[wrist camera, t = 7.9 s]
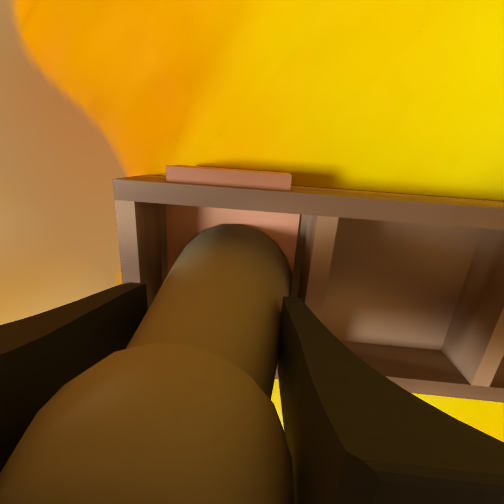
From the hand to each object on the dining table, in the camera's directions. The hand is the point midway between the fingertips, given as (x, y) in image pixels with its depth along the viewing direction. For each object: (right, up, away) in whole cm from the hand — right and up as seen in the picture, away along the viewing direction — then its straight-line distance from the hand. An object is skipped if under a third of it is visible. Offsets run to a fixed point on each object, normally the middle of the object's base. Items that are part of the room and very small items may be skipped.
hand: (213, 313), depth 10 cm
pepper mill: (0, +1, +4) cm, 4 cm away
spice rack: (+8, +1, +4) cm, 9 cm away
